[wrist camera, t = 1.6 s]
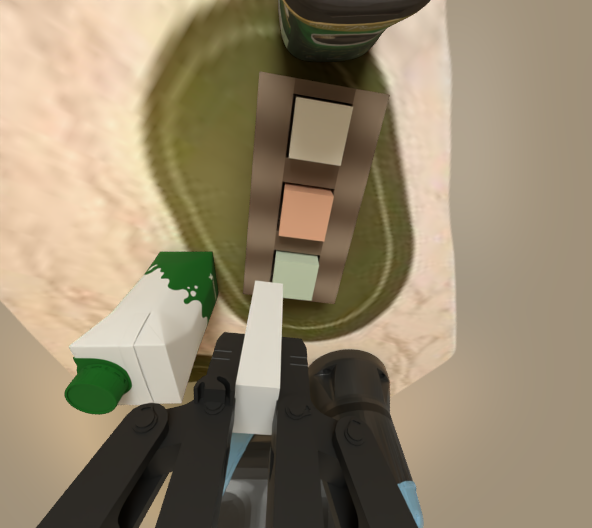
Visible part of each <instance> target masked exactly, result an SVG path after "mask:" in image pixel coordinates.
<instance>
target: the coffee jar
mask: <svg viewBox="0 0 592 528" xmlns="http://www.w3.org/2000/svg"><path fill="white" fill-rule="evenodd" d="M429 2H430V0H279V21H280V28H281V34H282V38H283V41H284V44H285V46H286V48H287V50H288V51H289V52H290V53H291V54H292V55H293V56H295V57H296V58H298V59H300V60H305V61H314V62H336V61H344V60H349V59H354V58H357V57H360V56H362V55H363V54H365V53H366V52H367V51H368V50H369V49H370V48H371V47H372V46H373V45H374V44H375V43H376V41H377V40H378V39H379V37H380V36H381V34H382V33H383V32H384V31H385V30H386V29H387V28H388V27H390V26H392V25H394V24H396V23H398V22H400V21H402V20H404V19H406V18H408V17H410V16H411V15H413V14H415V13H417V12H418V11H419V10H421V9H422V8H423V7H424V6H425V5H426V4H428V3H429Z"/></svg>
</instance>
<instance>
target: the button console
mask: <svg viewBox="0 0 592 528" xmlns="http://www.w3.org/2000/svg"><path fill="white" fill-rule="evenodd" d="M389 96H390V95H387V94H382V93H376V92H370V91H365V90H359V89H354V88H348V87H343V86H337V85H332V84H326V83H321V82H315V81H310V80H304V79H299V78H293V77H288V76H282V75H276V74H271V73H265V72H259V86H258V99H257V113H256V126H255V140H254V153H253V167H252V181H251V194H250V208H249V221H248V235H247V248H246V262H245V276H244V289H243V294H249V295H253V291H254V285H255V281H263V282H272V279H273V271H274V263H275V255H276V250H281V251H289V252H297V253H305V254H313V255H317V257H318V262H319V268H318V273H317V278H316V282H315V287H314V291H313V296H312V301H313V302H322V303H332V304H335V300H336V296H337V292H338V289H339V285H340V281H341V277H342V274H343V270H344V266H345V262H346V258H347V255H348V251H349V247H350V243H351V240H352V236H353V232H354V228H355V224H356V221H357V217H358V213H359V209H360V206H361V202H362V198H363V194H364V190H365V187H366V183H367V179H368V175H369V172H370V168H371V164H372V160H373V156H374V153H375V149H376V145H377V141H378V138H379V134H380V130H381V126H382V122H383V119H384V115H385V111H386V107H387V104H388V100H389ZM296 97H300V98H305V99H311V100H317V101H322V102H328V103H334V104H340V105H345V106H351V107H353V111H352V115H351V120H350V125H349V129H348V134H347V138H346V143H345V148H344V152H343V157H342V162H341V166H338V165H331V164H325V163H319V162H312V161H306V160H299V159H293V158H289V147H290V139H291V132H292V124H293V116H294V108H295V101H296ZM285 182H289V183H296V184H303V185H310V186H317V187H324V188H330V190H331V192H332V194H333V196H334V199H333V203H332V208H331V213H330V217H329V222H328V227H327V231H326V236H325V240H324V242H323V241H316V240H308V239H300V238H292V237H285V236H279V225H280V217H281V209H282V201H283V193H284V186H285ZM286 299H290V298H286ZM295 300H299V299H295ZM304 301H309V300H304Z"/></svg>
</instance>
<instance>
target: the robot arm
mask: <svg viewBox="0 0 592 528" xmlns="http://www.w3.org/2000/svg"><path fill="white" fill-rule="evenodd" d="M282 306H283V284H281V283H272V282H263V281H255V285H254V291H253V296H252V301H251V306H250V311H249V317H248V322H247V327H246V332H245V334H238V333H228V332H224V333H223V334H222V335H221V336H220V337H219V338H218V340H217V342H216V345H215V349H214V352H213V355H212V359H211V362H210V365H209V368H208V372H207V375H206V376H203V377H202V378H201V379H200V380H198V381H197V383H196V384H195V386H194V400H193V401H191V402H189V403H187V404H185V405H182V406H179V407H174V408H170V409H165V408H164V407H163V406H162V405H160V404H158V403H147V404H142V405H140V406H138V407H136V408H134V409H133V410H132V411H131V412H130V413H129V414H128V415H127V416H126V417H125V418H124V419H123V421H122V422H121V423H120V424H119V425H118V427H117V428H116V429H115V430H114V432H113V433H112V434H111V435H110V437H109V438H108V439H107V440H106V442H105V443H104V444H103V445H102V446H101V448H100V449H99V450H98V451H97V453H96V454H95V455H94V456H93V458H92V459H91V460H90V462H89V463H88V464H87V465H86V466H85V468H84V469H83V470H82V471H81V473H80V474H79V475H78V476H77V478H76V479H75V480H74V481H73V482H72V484H71V485H70V486H69V488H68V489H67V490H66V491H65V492H64V494H63V495H62V496H61V497H60V499H59V500H58V501H57V502H56V504H55V505H54V506H53V507H52V509H51V510H50V511H49V513H48V514H47V515H46V516H45V517H44V518H43V520H42V521H41V522H40V524H39V525H38V526H37V527H36V528H139V526H140V524H141V522H142V521H143V518H144V517H145V515H146V513H147V512H148V510H149V508H150V506H151V504H152V502H153V501H154V499H155V497H156V495H157V494H158V492H159V490H160V488H161V486H162V485H163V483H164V481H165V479H166V477H167V476H168V474H169V472H173V473H172V476H171V479H170V482H169V485H168V488H167V491H166V495H165V498H164V501H163V504H162V508H161V511H160V514H159V517H158V520H157V523H156V527H155V528H423V525H424V522H423V515H422V511H421V508H420V504H419V501H418V497H417V494H416V486H415V483H414V482H413V480H412V477H411V474H410V471H409V468H408V466H407V462H406V459H405V457H404V454H403V451H402V448H401V445H400V442H399V439H398V437H397V433H396V430H395V427H394V424H393V422H392V418H391V415H390V381H389V377H388V374H387V371H386V369H385V366H384V364H383V363H382V362H381V361H380V360H379V359H378V358H377V357H375V356H374V355H372V354H370V353H367V352H364V351H360V350H339V351H335V352H331V353H328V354H326V355H324V356H322V357H320V358H318V359H317V360H315V361H314V362H313V363H312V364H311V365H310V366H309V367H308V362H307V349H306V346H305V344H304V342H303V341H302V339H298V338H287V337H282Z"/></svg>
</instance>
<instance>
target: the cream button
mask: <svg viewBox="0 0 592 528" xmlns="http://www.w3.org/2000/svg"><path fill="white" fill-rule="evenodd" d="M352 111H353V107H351V106H345V105H340V104H334V103H328V102H322V101H317V100H311V99H305V98H300V97H296V101H295V108H294V116H293V124H292V132H291V139H290V147H289V158H293V159H299V160H306V161H312V162H319V163H325V164H331V165H338V166H341V162H342V157H343V152H344V148H345V143H346V138H347V134H348V129H349V125H350V120H351V115H352Z"/></svg>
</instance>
